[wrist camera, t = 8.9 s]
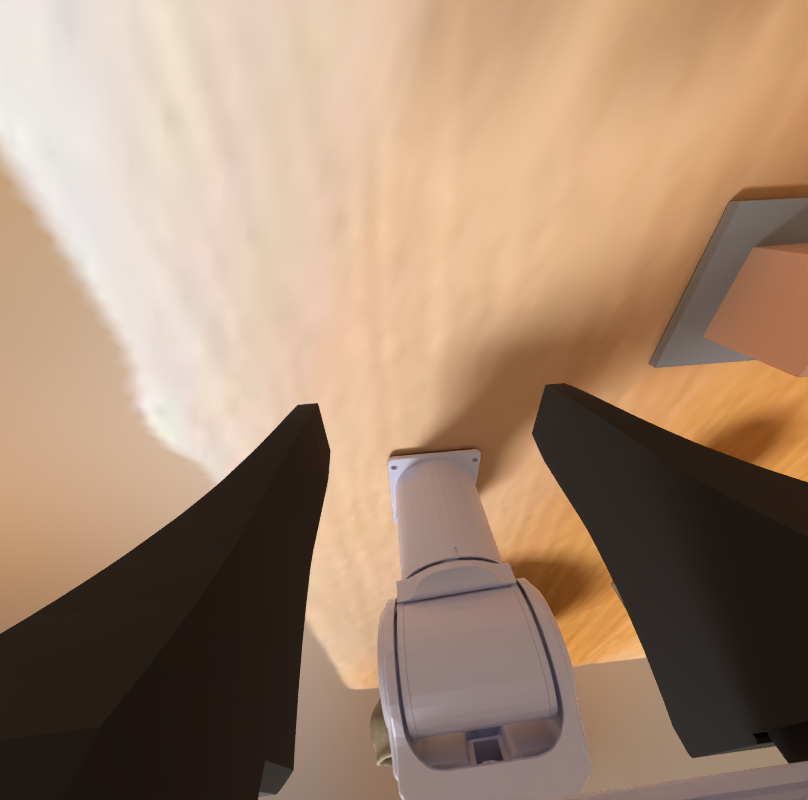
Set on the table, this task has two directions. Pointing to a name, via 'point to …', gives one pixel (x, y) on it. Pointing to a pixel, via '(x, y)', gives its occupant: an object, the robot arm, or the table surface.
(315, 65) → the table surface
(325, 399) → the table surface
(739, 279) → the painted block
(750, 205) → the slate coaster
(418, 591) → the robot arm
